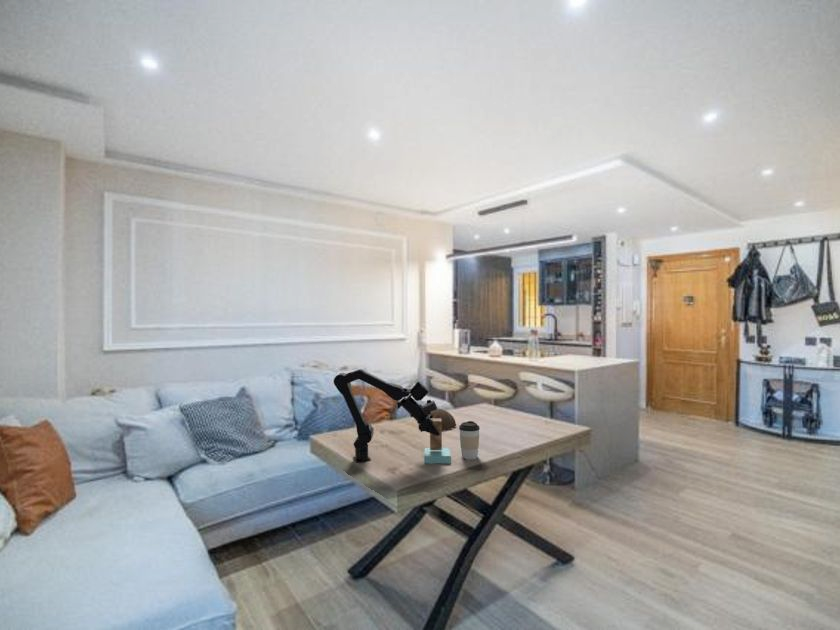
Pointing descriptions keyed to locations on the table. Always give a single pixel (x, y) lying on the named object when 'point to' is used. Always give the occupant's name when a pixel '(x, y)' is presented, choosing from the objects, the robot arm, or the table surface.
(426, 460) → the base
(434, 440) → the block
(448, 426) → the decorative dome
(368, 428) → the robot arm
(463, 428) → the coffee cup
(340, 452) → the table surface
